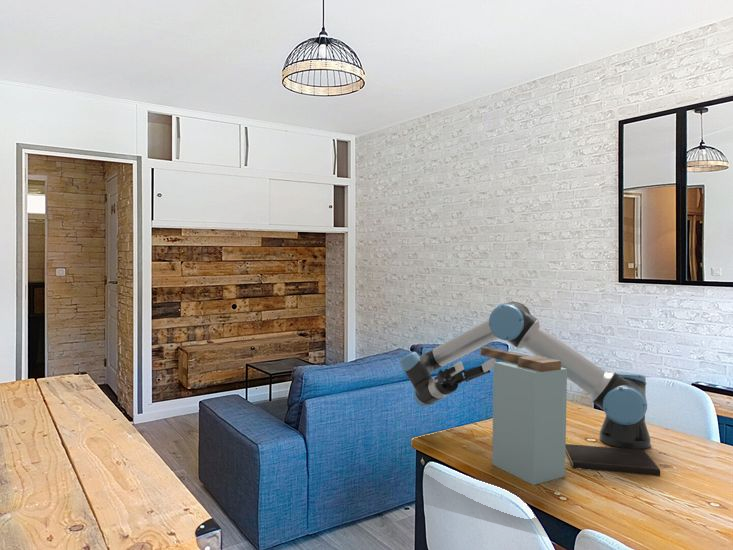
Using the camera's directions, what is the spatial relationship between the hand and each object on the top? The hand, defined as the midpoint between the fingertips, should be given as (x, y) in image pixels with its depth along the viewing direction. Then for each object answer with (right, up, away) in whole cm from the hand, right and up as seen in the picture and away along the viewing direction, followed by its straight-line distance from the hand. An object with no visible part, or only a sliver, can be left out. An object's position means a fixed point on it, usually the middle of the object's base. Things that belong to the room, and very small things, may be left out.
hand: (479, 363), depth 169 cm
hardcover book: (+37, -28, -10) cm, 48 cm away
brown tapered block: (+8, +2, -14) cm, 16 cm away
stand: (+10, -28, -18) cm, 34 cm away
